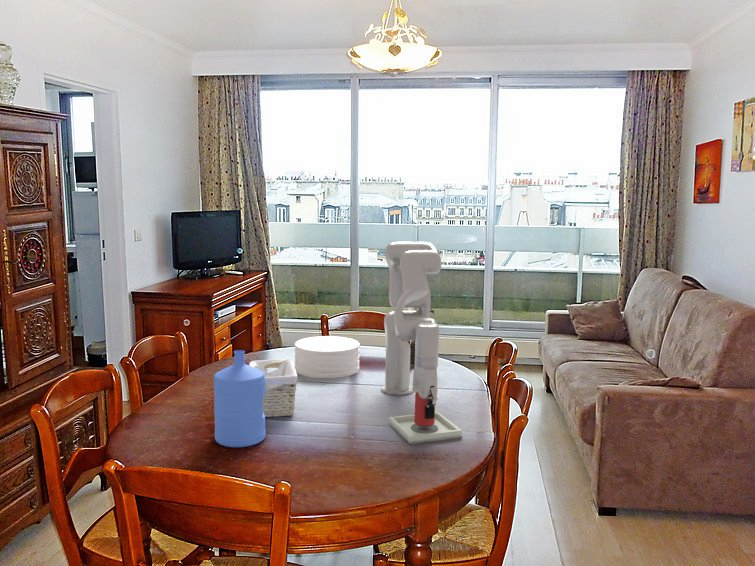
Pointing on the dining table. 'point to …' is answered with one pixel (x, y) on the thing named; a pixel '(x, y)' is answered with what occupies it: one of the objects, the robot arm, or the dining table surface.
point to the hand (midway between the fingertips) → (424, 413)
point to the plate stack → (327, 356)
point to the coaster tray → (425, 429)
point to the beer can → (422, 412)
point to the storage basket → (278, 386)
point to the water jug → (239, 404)
